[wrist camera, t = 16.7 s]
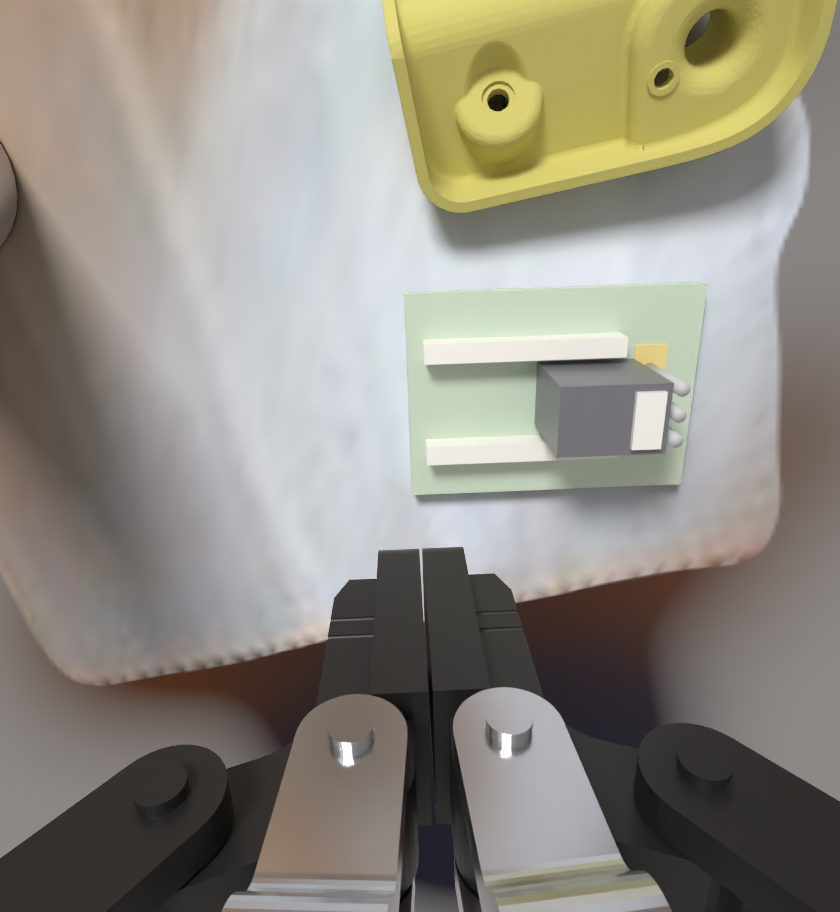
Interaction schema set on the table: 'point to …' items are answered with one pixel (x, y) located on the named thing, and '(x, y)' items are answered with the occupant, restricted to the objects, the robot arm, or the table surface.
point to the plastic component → (588, 87)
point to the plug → (602, 407)
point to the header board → (514, 380)
